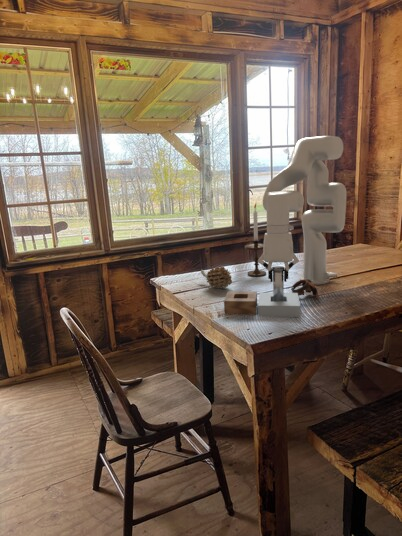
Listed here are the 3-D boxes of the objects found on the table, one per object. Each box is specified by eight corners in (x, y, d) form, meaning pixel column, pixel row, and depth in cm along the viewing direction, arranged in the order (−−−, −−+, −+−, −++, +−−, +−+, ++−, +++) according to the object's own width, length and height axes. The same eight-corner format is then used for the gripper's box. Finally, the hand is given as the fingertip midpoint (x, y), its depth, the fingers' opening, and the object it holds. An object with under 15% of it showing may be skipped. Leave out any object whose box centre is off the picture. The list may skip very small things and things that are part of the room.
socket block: (297, 302, 138) (297, 292, 137) (300, 316, 125) (300, 305, 124) (259, 302, 141) (259, 292, 140) (258, 316, 127) (258, 305, 126)
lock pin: (284, 298, 133) (284, 266, 130) (284, 302, 129) (284, 269, 126) (272, 298, 134) (272, 266, 131) (272, 301, 130) (272, 269, 127)
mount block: (257, 304, 139) (256, 291, 138) (255, 314, 129) (255, 301, 128) (228, 303, 142) (227, 291, 140) (224, 314, 131) (224, 301, 130)
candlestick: (272, 275, 177) (271, 201, 168) (252, 278, 173) (250, 203, 165) (261, 270, 187) (259, 200, 178) (241, 273, 183) (239, 202, 175)
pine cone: (239, 289, 159) (238, 266, 157) (222, 294, 153) (221, 271, 151) (207, 279, 176) (206, 259, 174) (191, 284, 171) (189, 263, 168)
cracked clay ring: (319, 303, 137) (309, 286, 135) (297, 311, 143) (286, 294, 141) (322, 286, 147) (312, 270, 145) (301, 294, 152) (291, 278, 150)
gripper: (302, 227, 127) (302, 278, 132) (253, 228, 131) (254, 278, 135) (304, 230, 120) (303, 283, 125) (252, 231, 124) (253, 283, 128)
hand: (278, 280), depth 130 cm, fingers closed on lock pin, 4 cm apart
